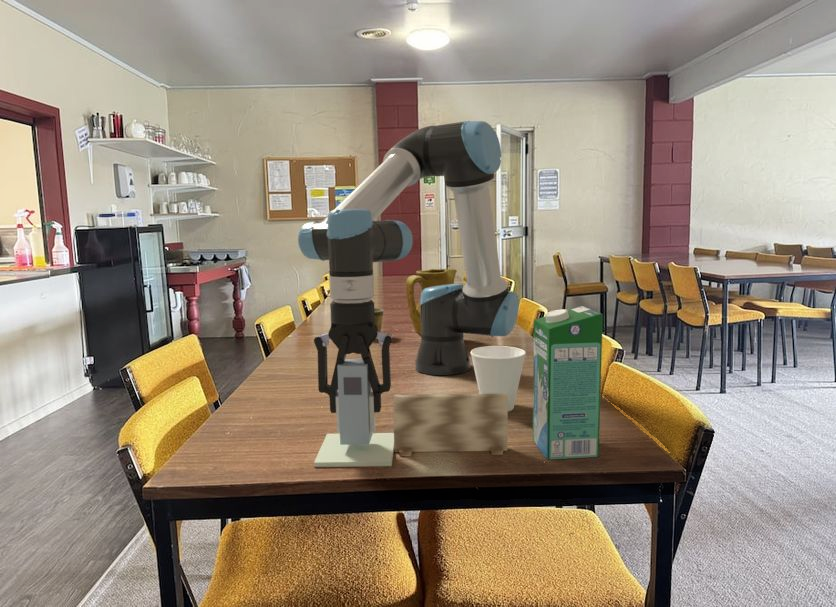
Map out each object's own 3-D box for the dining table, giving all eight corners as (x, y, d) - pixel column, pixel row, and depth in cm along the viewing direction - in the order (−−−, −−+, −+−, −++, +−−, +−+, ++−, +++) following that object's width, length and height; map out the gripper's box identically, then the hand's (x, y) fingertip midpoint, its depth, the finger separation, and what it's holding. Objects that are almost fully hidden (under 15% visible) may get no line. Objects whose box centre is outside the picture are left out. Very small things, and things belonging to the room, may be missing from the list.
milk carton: (532, 439, 105) (533, 306, 102) (579, 437, 106) (582, 304, 102) (547, 460, 96) (549, 314, 93) (599, 457, 97) (603, 312, 93)
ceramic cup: (389, 336, 202) (388, 308, 200) (375, 342, 193) (374, 313, 191) (357, 334, 207) (356, 307, 206) (342, 339, 198) (341, 311, 197)
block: (345, 433, 104) (342, 359, 102) (372, 433, 103) (370, 358, 101) (340, 444, 98) (337, 366, 97) (368, 445, 98) (366, 366, 96)
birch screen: (393, 456, 99) (392, 400, 98) (395, 444, 104) (394, 392, 102) (508, 454, 99) (509, 399, 97) (504, 443, 104) (504, 390, 102)
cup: (461, 403, 127) (460, 349, 125) (506, 396, 131) (506, 343, 130) (488, 419, 116) (487, 360, 114) (536, 411, 121) (537, 354, 119)
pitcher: (468, 347, 180) (463, 268, 178) (410, 351, 181) (404, 273, 178) (464, 338, 197) (460, 266, 195) (411, 341, 198) (406, 270, 195)
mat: (314, 467, 95) (313, 462, 95) (327, 437, 108) (327, 433, 108) (391, 466, 95) (391, 461, 95) (395, 436, 108) (395, 432, 108)
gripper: (294, 303, 94) (301, 438, 97) (404, 302, 94) (406, 437, 97) (304, 297, 101) (309, 422, 105) (405, 296, 101) (408, 421, 104)
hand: (356, 429), depth 101 cm, fingers closed on block, 5 cm apart
